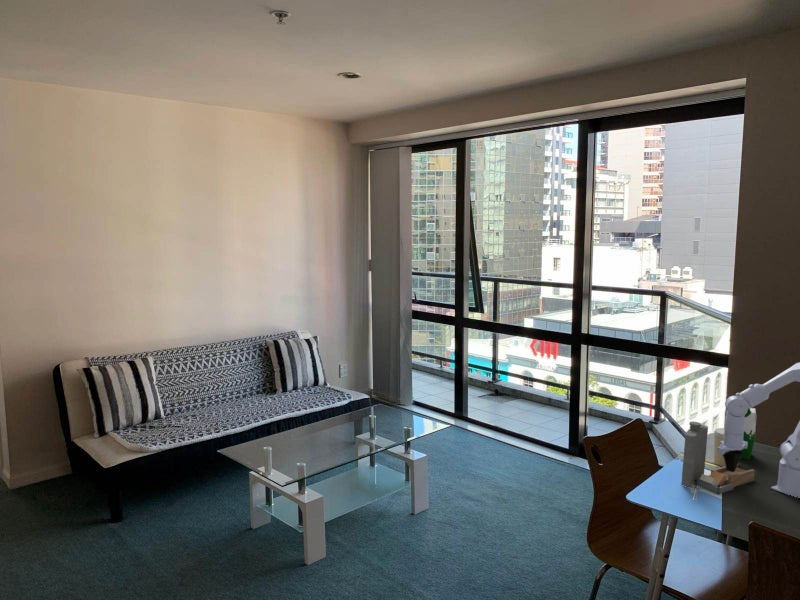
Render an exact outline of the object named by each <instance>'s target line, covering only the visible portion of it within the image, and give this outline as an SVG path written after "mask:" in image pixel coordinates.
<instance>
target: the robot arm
mask: <svg viewBox="0 0 800 600" xmlns="http://www.w3.org/2000/svg"><path fill="white" fill-rule="evenodd" d="M793 382H798V383H799V382H800V361H799V362H796V363H795V364H793V365H792V366H790V367H789V368H787V369H786V370H784V371H782V372H780V373H779V374H777V375H776V376H775V377H773V378H771V379H769V380H768V381H766V382H764V383H762V384H760V383H754V384H752V383H751V384H749V385H748V388H746V389H745V390H743V391H741V392H737V393H735V395H732V396H731V395H730V396H729V397H728V398H727V399H726V400H725V401H724V406H725V408H726V412H725V418H724V441H720V444H721V445H720V446H719V447H717V453H719V454H722V455H723V457H724V460H725V464H726V469H727V470H728V471H730V472H735V470H736V467H738V466H737V464H738V465H739V463H738V462H740V460H741V459H742V458H741V457H742V456H743V455H744V452H743V451H740V450H742V449H743V448H747V446H748V442H746V441H743V436H744V424H745V420H744V417H745V414H746V413H747V411H748V409H749V408H754V407H755V406H757V405H760V404H762V403H763V402H765V401H766V400H768V399H769V397H770V394H771V393H772V392H776V391H778V390H779V389H781V388H783V387H785V386H787V385H790V384H791V383H793ZM779 453H780V455H781V456H782V458H781V459H780V460H779V463H778V464H779V465H778V466H779V467H778V473H777V474H778V476H777V483H776V485H773V486H771V487H770V489H772V490H774V491H777V492H780V493H781V494H785V495H788V496H790V495H791V496H790V497H793V496H794V497H793V498H796V497H797V496H798V498H800V420H799V421H798V423H797V425H796V427H795V430H794V431H793V433H792V434H790V435H789V436H788V437H787V439H786V440H785V441H783V443H781V445H780V446H779ZM798 498H797V499H798Z"/></svg>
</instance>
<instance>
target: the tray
mask: <svg viewBox="0 0 800 600" xmlns="http://www.w3.org/2000/svg"><path fill="white" fill-rule="evenodd" d="M708 476H710V474H709V475H708ZM697 485H698V486H697ZM695 486H697V487H699V486H700V488H701V487H702V489H704V490H707V491H709V492H712V493H714V494H717V495H721V494H724V493H727V492H730V491H733V490H734V487H733V486H734V484H733V483H731V484H728V485H722V486H721V487H716V486H713V485H711V484H708V483H706V482H703V481H701V480H700V478H699V479H696V481H695Z"/></svg>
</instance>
